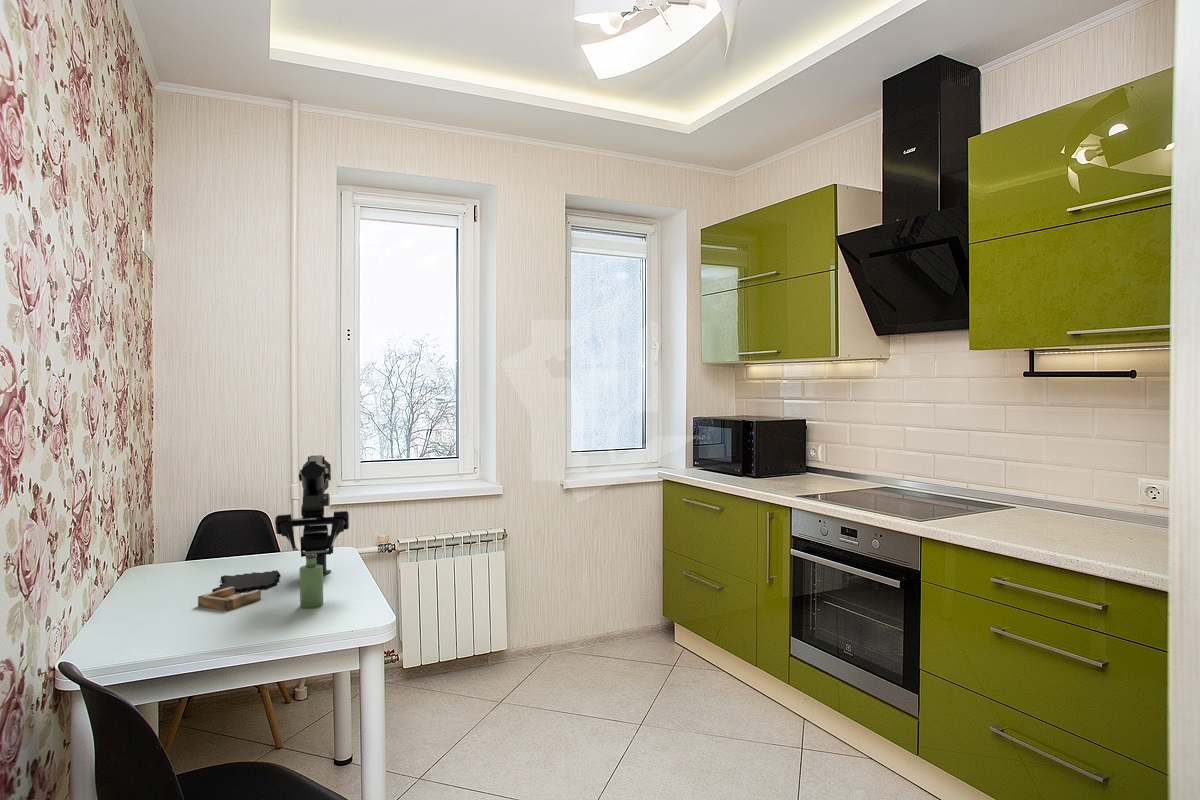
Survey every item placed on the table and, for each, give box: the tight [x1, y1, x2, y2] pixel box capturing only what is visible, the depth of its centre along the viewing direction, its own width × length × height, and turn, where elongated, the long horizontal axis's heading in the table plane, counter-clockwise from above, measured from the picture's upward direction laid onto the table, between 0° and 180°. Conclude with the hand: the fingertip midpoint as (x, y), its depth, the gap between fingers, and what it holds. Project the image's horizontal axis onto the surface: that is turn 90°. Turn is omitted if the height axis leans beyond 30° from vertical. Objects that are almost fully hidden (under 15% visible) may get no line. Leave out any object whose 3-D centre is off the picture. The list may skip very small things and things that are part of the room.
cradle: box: [197, 587, 262, 612], centre depth 183 cm, size 10×11×2 cm
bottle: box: [299, 553, 324, 610], centre depth 180 cm, size 6×6×13 cm
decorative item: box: [211, 570, 281, 594], centre depth 202 cm, size 23×2×20 cm
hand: (312, 548), depth 187 cm, fingers open, 9 cm apart
